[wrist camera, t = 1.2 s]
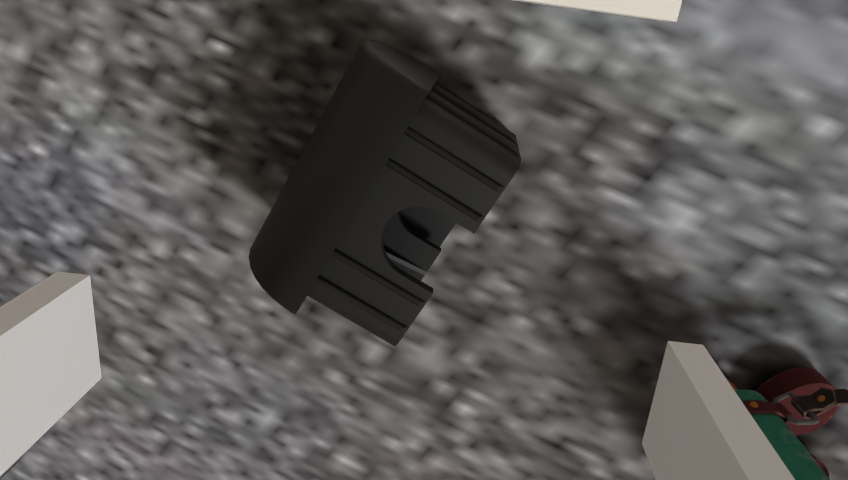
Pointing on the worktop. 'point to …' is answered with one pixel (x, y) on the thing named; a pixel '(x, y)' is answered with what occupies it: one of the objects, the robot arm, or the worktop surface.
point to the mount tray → (622, 7)
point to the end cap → (381, 193)
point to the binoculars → (794, 415)
